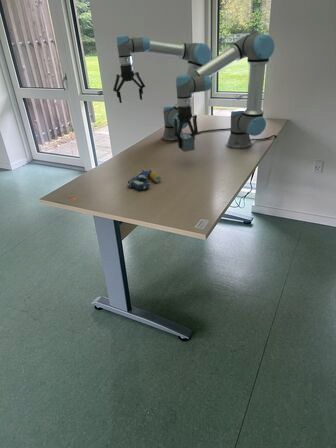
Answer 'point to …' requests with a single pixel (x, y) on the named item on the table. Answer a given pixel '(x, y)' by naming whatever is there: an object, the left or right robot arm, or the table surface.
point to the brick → (187, 142)
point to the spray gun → (143, 179)
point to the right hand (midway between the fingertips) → (186, 146)
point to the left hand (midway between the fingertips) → (130, 101)
